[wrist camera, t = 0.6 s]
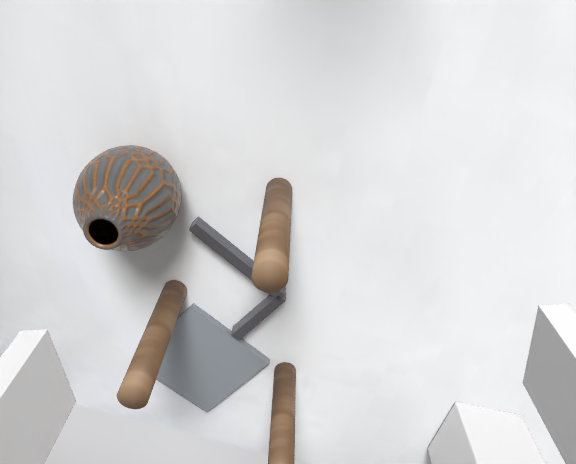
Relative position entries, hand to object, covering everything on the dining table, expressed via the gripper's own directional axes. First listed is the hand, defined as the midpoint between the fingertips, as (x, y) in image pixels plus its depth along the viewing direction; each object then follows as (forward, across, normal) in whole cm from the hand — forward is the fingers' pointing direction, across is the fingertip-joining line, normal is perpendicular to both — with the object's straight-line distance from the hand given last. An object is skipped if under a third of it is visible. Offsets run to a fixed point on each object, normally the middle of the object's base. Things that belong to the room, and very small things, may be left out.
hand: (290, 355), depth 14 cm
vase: (+24, -12, -4) cm, 27 cm away
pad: (+24, -10, -22) cm, 34 cm away
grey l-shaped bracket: (+24, -7, -13) cm, 28 cm away
